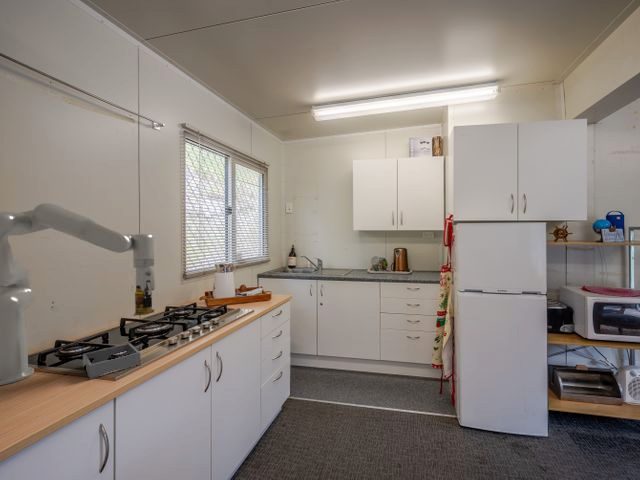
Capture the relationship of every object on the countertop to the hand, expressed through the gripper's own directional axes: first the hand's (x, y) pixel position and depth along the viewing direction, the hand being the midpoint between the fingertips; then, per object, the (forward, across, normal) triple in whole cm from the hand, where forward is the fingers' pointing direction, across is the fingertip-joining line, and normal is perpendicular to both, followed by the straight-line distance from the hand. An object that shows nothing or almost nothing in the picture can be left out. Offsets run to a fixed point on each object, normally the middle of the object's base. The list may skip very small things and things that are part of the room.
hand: (144, 305), depth 130 cm
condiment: (+3, +1, 0) cm, 3 cm away
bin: (+21, -2, +12) cm, 25 cm away
